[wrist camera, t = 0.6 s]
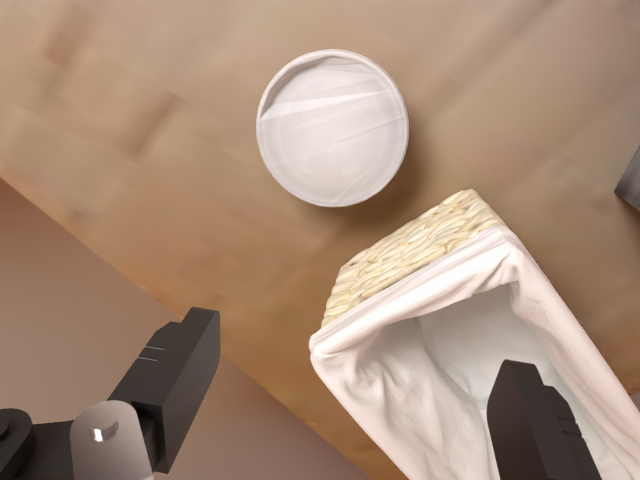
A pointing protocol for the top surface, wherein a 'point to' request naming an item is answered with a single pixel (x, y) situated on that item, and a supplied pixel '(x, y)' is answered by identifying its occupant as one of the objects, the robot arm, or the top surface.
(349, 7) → the top surface
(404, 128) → the ramekin
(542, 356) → the storage basket
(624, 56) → the top surface
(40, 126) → the top surface
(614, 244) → the top surface
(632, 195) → the lane
